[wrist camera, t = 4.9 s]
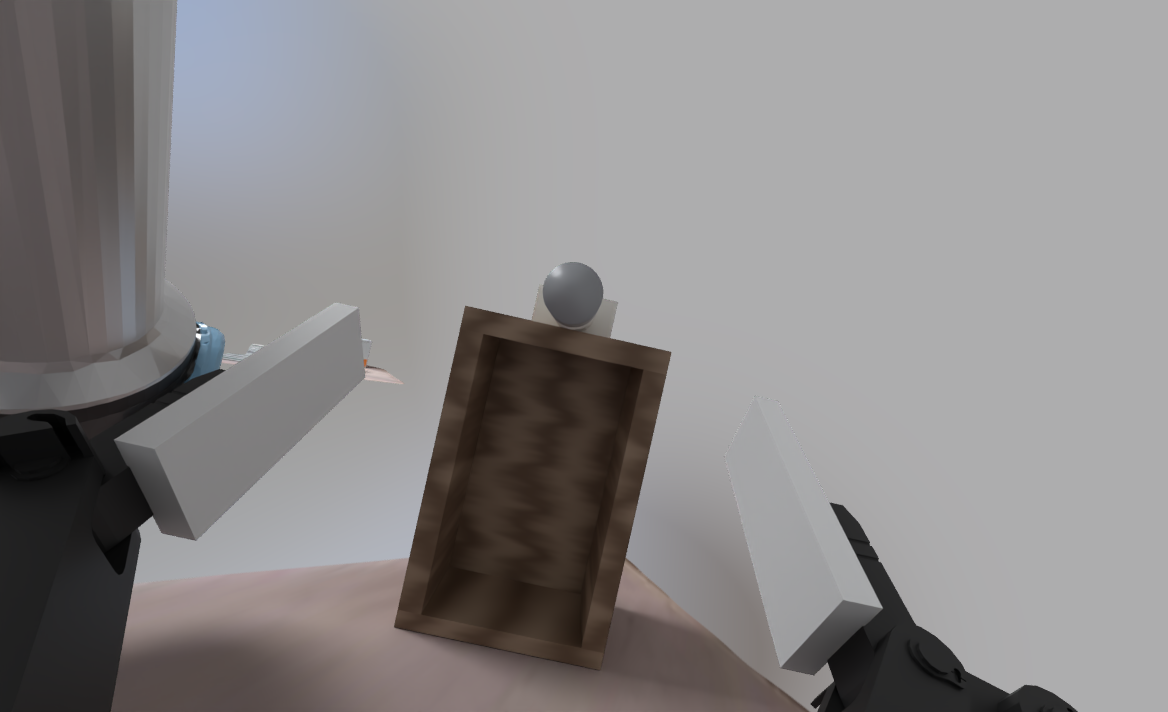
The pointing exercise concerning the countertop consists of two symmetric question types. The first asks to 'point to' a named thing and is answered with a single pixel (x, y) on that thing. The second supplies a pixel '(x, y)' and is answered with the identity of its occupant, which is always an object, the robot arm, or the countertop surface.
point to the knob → (575, 301)
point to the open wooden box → (532, 488)
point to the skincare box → (366, 350)
